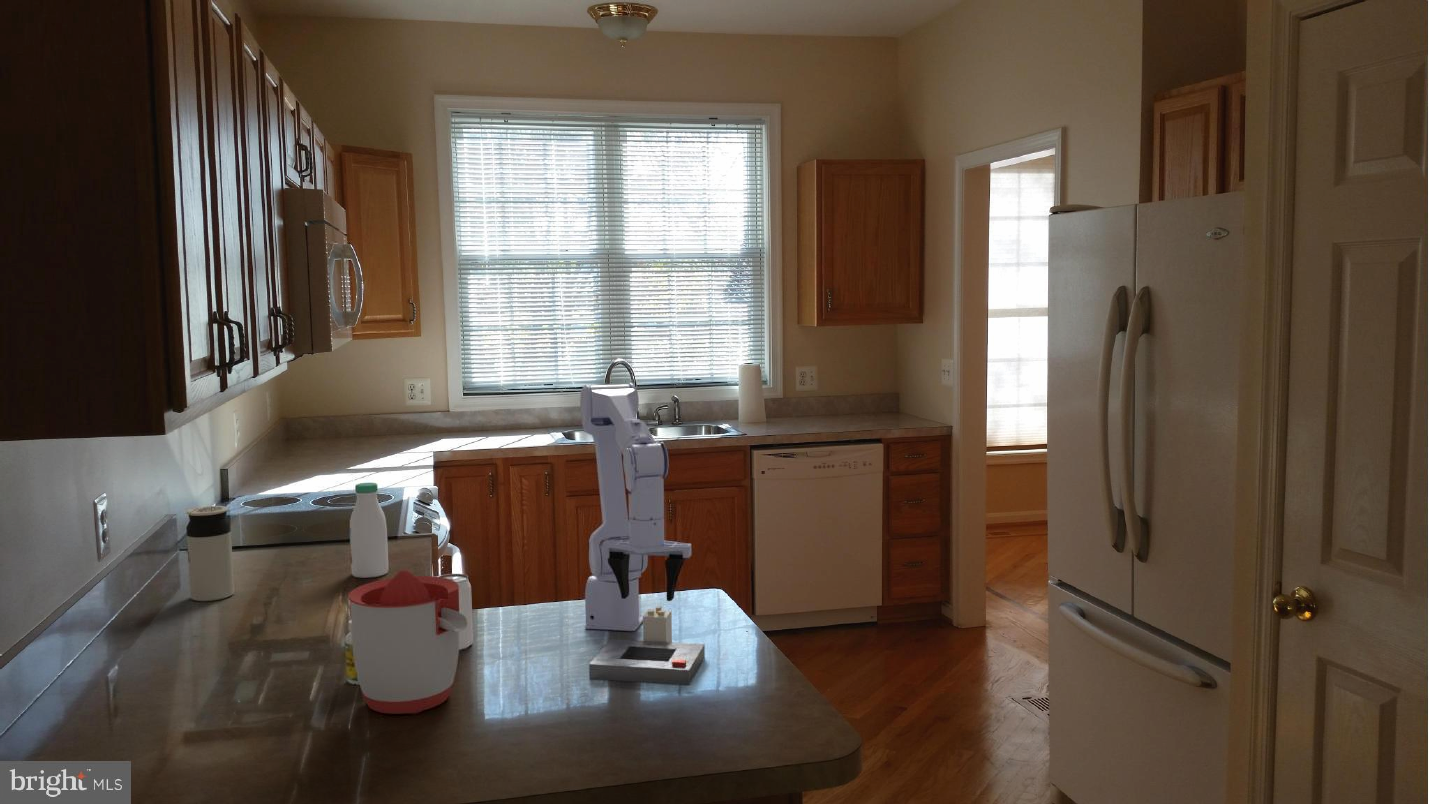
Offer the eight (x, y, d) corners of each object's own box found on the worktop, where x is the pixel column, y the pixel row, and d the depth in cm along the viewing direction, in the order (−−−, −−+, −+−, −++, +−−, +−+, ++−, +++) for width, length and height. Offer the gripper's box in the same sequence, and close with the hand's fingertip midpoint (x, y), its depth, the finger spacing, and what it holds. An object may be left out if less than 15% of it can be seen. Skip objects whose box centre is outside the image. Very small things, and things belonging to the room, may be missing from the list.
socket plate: (589, 678, 160) (589, 660, 160) (611, 652, 172) (611, 635, 171) (689, 685, 157) (688, 666, 157) (704, 658, 169) (704, 640, 168)
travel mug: (241, 590, 212) (236, 505, 210) (223, 601, 204) (218, 513, 202) (202, 591, 211) (196, 505, 210) (183, 602, 203) (177, 513, 202)
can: (480, 645, 176) (478, 577, 175) (447, 655, 172) (445, 585, 170) (459, 637, 181) (457, 570, 180) (427, 646, 176) (424, 578, 175)
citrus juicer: (436, 729, 142) (431, 588, 140) (330, 715, 147) (323, 579, 145) (492, 688, 157) (488, 560, 155) (394, 677, 162) (389, 553, 160)
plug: (643, 650, 173) (642, 611, 172) (649, 643, 177) (648, 604, 176) (666, 652, 172) (665, 612, 171) (671, 644, 176) (671, 605, 175)
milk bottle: (396, 572, 225) (392, 482, 223) (367, 580, 218) (363, 488, 216) (372, 567, 229) (369, 479, 227) (344, 575, 222) (339, 485, 220)
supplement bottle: (390, 677, 162) (387, 618, 161) (361, 688, 157) (358, 627, 156) (368, 671, 165) (365, 612, 164) (339, 681, 160) (336, 621, 159)
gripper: (596, 520, 164) (597, 603, 165) (684, 523, 161) (685, 607, 162) (609, 511, 171) (610, 590, 172) (694, 514, 168) (694, 594, 169)
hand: (647, 598), depth 168 cm, fingers open, 7 cm apart
